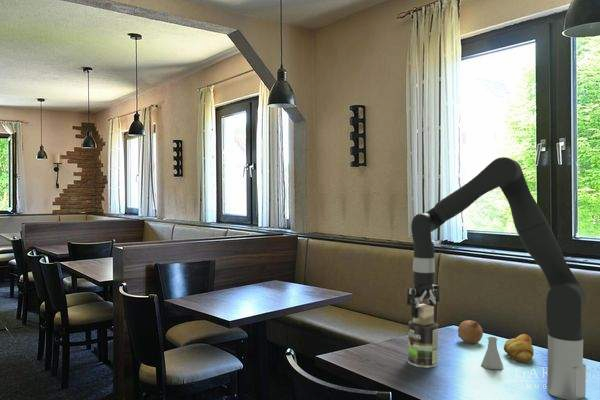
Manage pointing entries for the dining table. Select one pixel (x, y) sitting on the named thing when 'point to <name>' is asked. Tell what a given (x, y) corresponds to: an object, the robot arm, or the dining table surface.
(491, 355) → the flask
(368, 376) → the dining table surface
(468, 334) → the onion
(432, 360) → the coffee can
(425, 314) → the maple block
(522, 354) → the bread roll
